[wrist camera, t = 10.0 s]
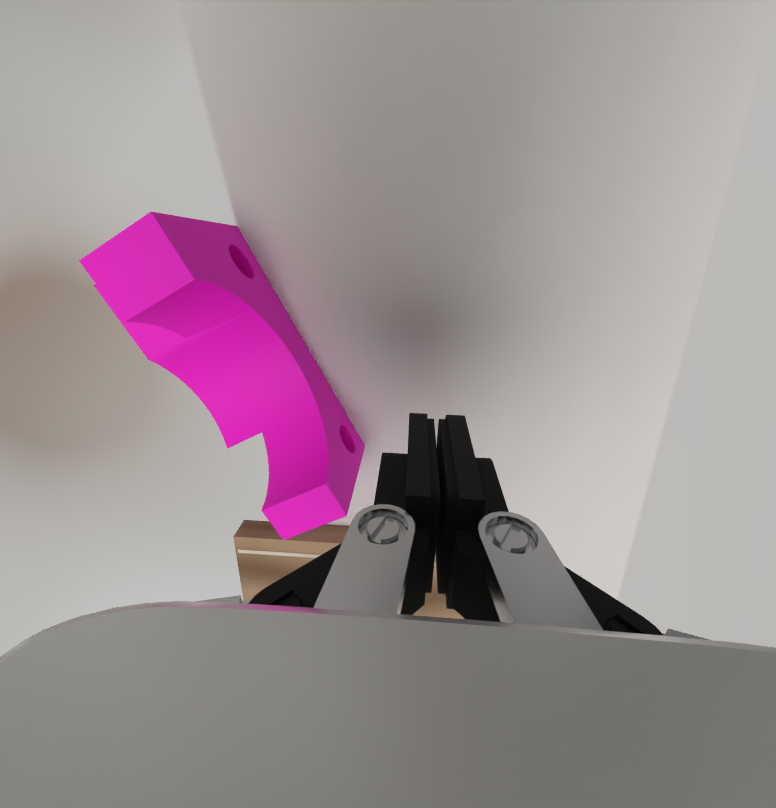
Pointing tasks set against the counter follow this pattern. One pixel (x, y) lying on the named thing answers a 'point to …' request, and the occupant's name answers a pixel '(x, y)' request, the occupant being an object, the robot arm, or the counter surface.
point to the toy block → (234, 356)
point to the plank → (301, 559)
